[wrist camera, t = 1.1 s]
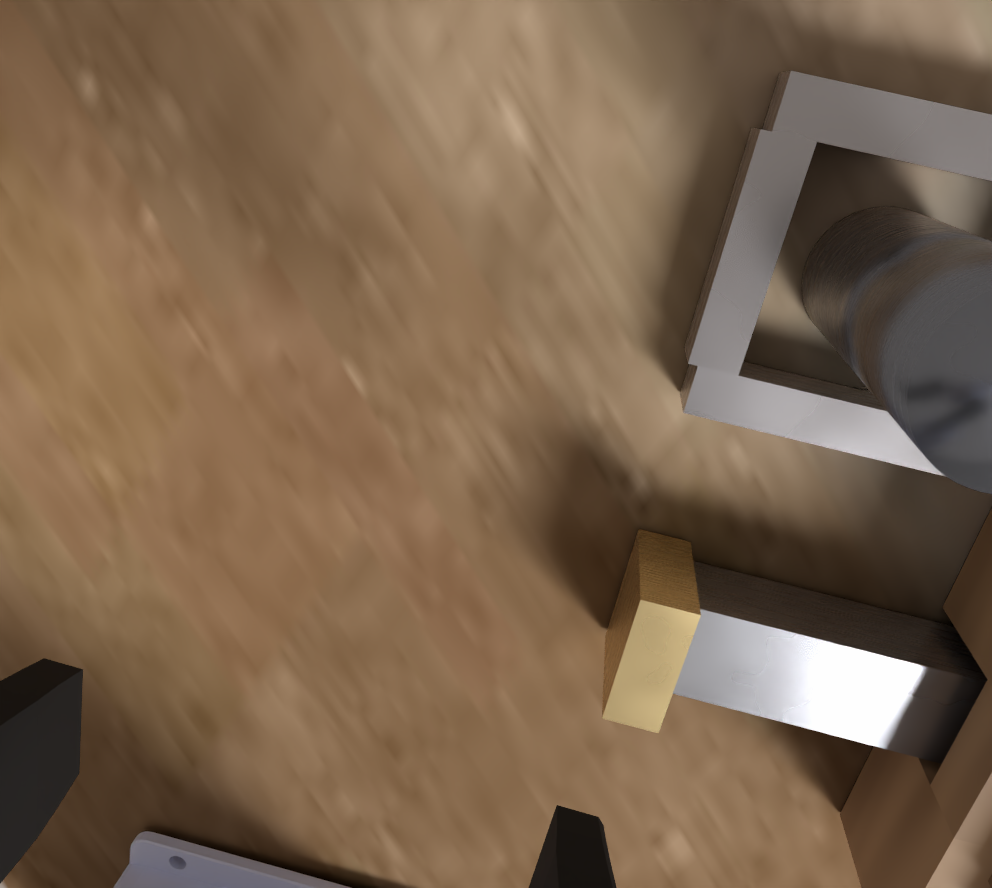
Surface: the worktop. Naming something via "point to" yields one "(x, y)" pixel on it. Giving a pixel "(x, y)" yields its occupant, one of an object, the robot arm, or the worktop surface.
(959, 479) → the metal cylinder
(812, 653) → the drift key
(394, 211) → the worktop surface
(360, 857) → the worktop surface
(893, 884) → the socket block
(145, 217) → the worktop surface
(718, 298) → the collar
